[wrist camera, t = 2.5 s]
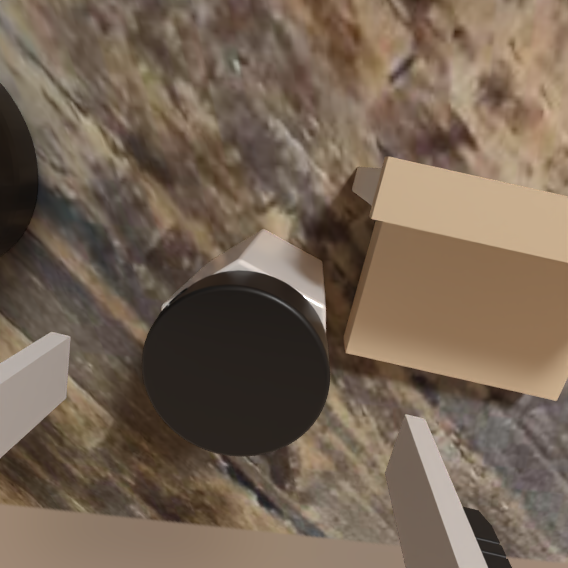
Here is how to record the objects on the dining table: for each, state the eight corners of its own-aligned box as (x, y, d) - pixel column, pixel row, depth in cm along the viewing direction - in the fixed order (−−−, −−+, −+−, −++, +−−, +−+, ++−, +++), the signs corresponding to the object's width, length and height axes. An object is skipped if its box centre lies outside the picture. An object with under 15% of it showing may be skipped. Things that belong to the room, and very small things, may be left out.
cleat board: (315, 331, 29) (315, 422, 19) (359, 159, 26) (388, 156, 16) (564, 387, 29) (701, 510, 19) (642, 222, 26) (860, 261, 15)
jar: (203, 229, 28) (125, 275, 17) (324, 227, 27) (330, 274, 16) (212, 350, 30) (150, 463, 19) (324, 351, 30) (329, 469, 18)
